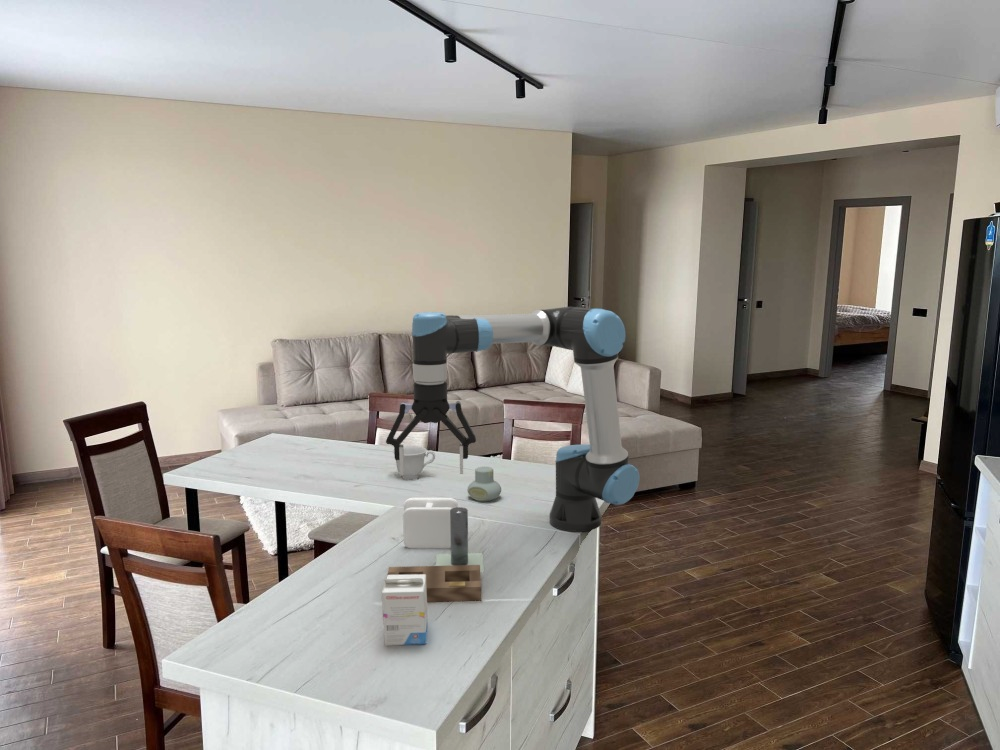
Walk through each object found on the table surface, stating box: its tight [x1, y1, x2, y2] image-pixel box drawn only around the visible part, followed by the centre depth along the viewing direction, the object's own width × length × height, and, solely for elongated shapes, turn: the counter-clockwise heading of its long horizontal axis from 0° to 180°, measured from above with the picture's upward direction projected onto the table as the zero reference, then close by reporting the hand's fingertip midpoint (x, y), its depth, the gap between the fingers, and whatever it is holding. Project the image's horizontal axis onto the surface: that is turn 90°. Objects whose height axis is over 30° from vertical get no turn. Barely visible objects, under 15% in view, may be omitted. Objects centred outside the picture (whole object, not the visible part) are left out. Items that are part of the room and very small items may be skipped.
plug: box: [450, 506, 469, 565], centre depth 186 cm, size 4×4×14 cm
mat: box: [435, 552, 485, 574], centre depth 187 cm, size 12×12×1 cm
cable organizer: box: [402, 497, 459, 549], centre depth 201 cm, size 15×11×12 cm
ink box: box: [381, 574, 429, 646], centre depth 152 cm, size 9×8×13 cm
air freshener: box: [466, 466, 502, 502], centre depth 237 cm, size 11×8×10 cm
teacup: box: [392, 445, 436, 481], centre depth 259 cm, size 12×15×10 cm
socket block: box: [386, 565, 482, 604], centre depth 173 cm, size 22×12×4 cm, turn 93°
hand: (431, 473), depth 168 cm, fingers open, 13 cm apart
